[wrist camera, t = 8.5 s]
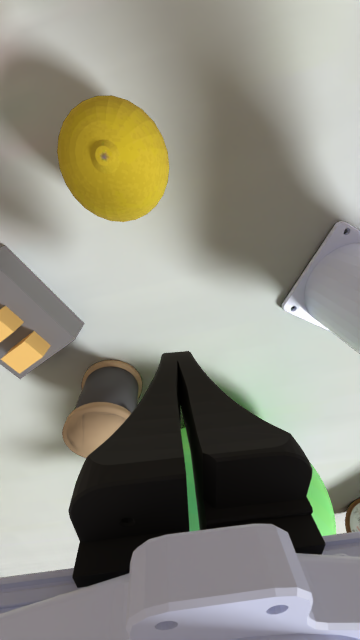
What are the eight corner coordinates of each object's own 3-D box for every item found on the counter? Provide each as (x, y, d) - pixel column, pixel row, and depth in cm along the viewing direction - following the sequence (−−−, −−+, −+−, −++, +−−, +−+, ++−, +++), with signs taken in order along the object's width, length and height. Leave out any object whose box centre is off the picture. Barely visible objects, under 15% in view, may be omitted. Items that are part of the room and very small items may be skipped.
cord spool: (150, 370, 25) (149, 419, 19) (130, 411, 27) (123, 466, 21) (93, 351, 23) (74, 399, 18) (76, 396, 25) (54, 451, 20)
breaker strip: (-46, 290, 20) (-97, 314, 16) (7, 244, 19) (-34, 257, 15) (35, 357, 23) (10, 391, 19) (85, 321, 22) (69, 349, 18)
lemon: (88, 215, 18) (45, 228, 11) (77, 119, 16) (12, 56, 9) (166, 217, 19) (172, 230, 12) (166, 123, 16) (174, 67, 9)
